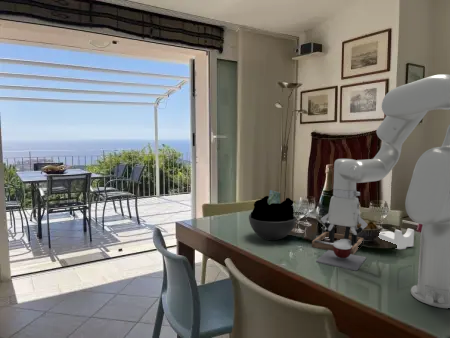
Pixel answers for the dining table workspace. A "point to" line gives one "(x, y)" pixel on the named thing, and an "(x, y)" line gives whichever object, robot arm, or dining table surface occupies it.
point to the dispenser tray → (329, 246)
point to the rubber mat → (342, 260)
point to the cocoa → (343, 245)
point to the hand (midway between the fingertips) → (342, 242)
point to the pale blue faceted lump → (274, 197)
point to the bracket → (399, 238)
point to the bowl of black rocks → (272, 218)
